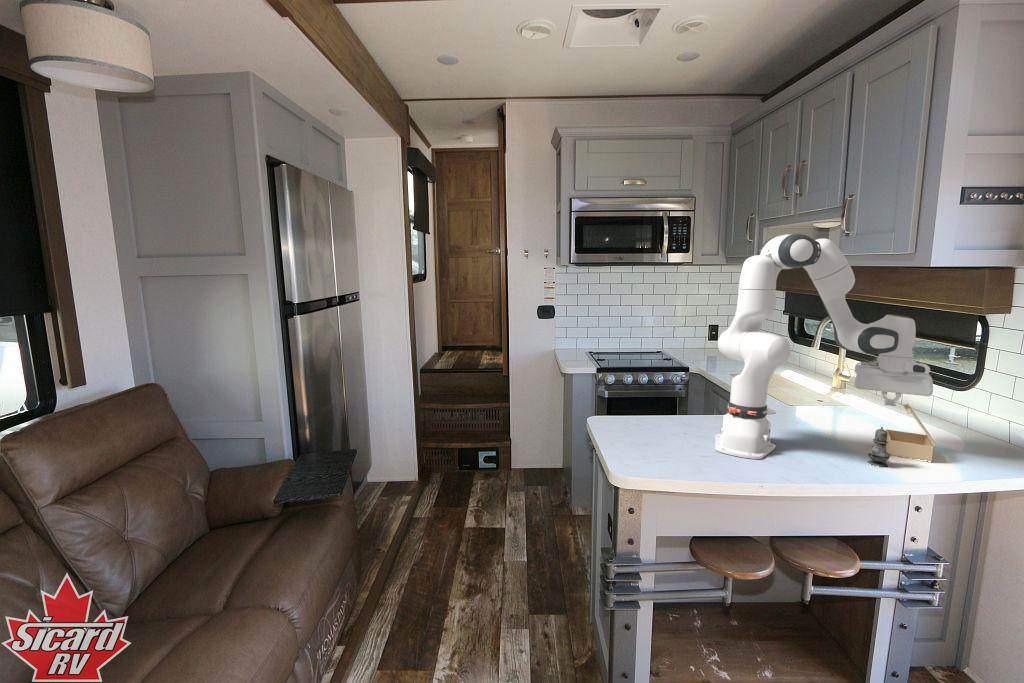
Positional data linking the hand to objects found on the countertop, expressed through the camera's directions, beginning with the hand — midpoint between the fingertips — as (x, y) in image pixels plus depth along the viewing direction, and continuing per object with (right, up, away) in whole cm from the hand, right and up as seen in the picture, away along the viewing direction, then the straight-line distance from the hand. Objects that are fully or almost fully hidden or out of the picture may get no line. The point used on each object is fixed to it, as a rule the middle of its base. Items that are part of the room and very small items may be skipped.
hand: (890, 405), depth 159 cm
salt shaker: (-12, -17, -10) cm, 23 cm away
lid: (+7, -6, -2) cm, 9 cm away
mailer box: (+5, -16, 0) cm, 16 cm away
